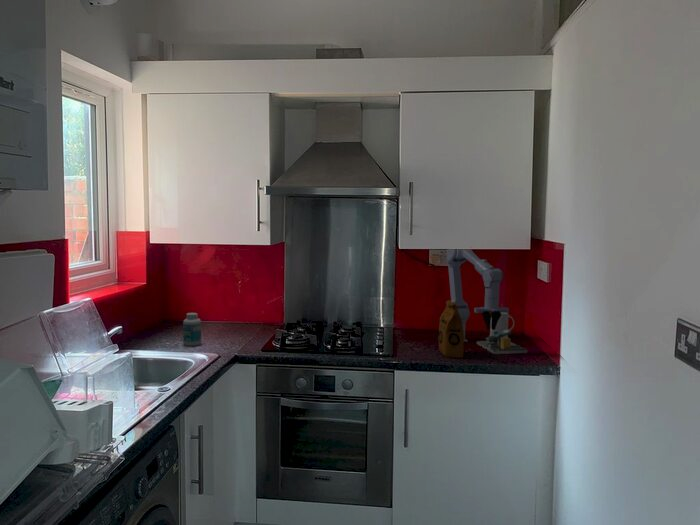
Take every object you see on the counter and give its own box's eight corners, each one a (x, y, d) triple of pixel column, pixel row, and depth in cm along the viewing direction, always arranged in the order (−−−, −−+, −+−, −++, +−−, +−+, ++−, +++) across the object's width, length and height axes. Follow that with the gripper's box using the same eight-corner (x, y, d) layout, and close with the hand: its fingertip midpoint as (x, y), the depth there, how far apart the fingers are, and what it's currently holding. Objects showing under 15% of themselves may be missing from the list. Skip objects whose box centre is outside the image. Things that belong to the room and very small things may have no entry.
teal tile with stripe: (490, 342, 236) (489, 339, 236) (486, 339, 240) (485, 337, 240) (511, 333, 237) (510, 331, 237) (507, 331, 242) (506, 329, 241)
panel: (494, 354, 223) (494, 340, 223) (476, 343, 241) (477, 331, 241) (527, 353, 226) (527, 340, 226) (507, 342, 244) (507, 330, 243)
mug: (510, 335, 259) (512, 311, 258) (517, 339, 250) (518, 314, 249) (487, 335, 258) (488, 311, 257) (492, 339, 250) (493, 314, 249)
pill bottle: (180, 344, 231) (179, 313, 230) (195, 341, 236) (195, 311, 235) (189, 347, 226) (188, 316, 225) (204, 344, 231) (204, 313, 230)
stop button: (490, 342, 230) (490, 338, 230) (487, 340, 234) (487, 336, 234) (498, 342, 231) (498, 337, 231) (494, 340, 235) (495, 335, 234)
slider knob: (503, 349, 226) (504, 339, 225) (500, 347, 229) (500, 337, 228) (510, 349, 226) (510, 338, 226) (507, 347, 229) (507, 337, 229)
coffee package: (441, 358, 215) (443, 304, 213) (436, 350, 228) (438, 299, 226) (466, 358, 215) (468, 305, 213) (459, 350, 228) (461, 300, 226)
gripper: (479, 299, 219) (478, 331, 220) (512, 298, 221) (511, 331, 223) (472, 296, 226) (471, 328, 227) (504, 296, 228) (503, 327, 230)
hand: (490, 329), depth 225 cm, fingers closed
